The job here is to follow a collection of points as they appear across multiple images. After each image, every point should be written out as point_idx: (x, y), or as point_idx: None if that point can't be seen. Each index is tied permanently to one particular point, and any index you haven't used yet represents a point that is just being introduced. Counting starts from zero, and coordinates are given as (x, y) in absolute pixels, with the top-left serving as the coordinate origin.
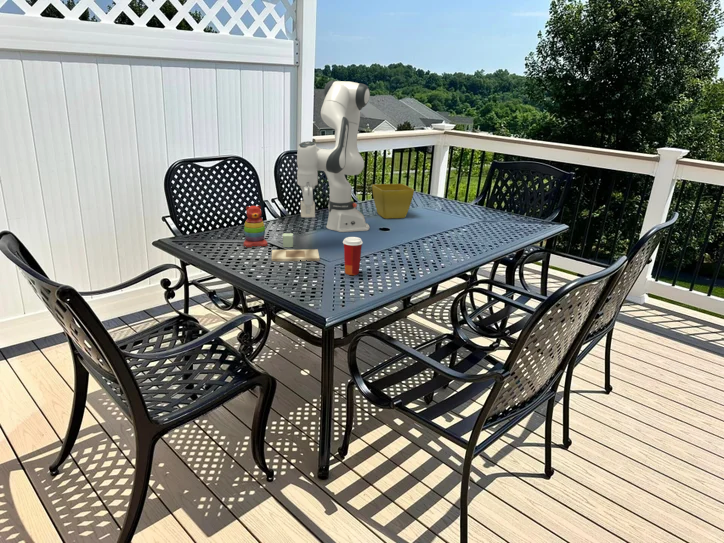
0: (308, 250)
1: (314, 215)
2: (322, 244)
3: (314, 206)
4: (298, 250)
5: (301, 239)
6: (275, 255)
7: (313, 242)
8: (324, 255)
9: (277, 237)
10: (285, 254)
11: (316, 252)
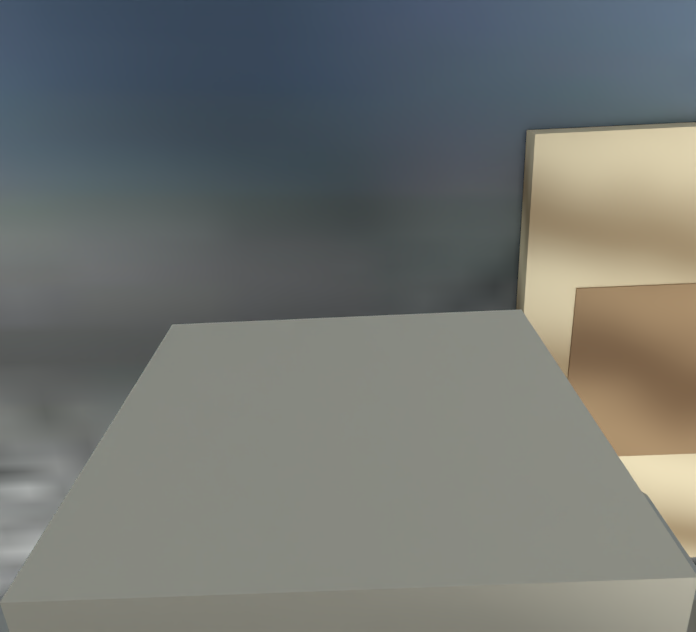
0: (566, 243)
1: (533, 338)
2: (226, 62)
3: (635, 503)
4: (553, 346)
5: (59, 312)
6: (673, 531)
7: (155, 177)
8: (668, 47)
9: (36, 528)
10: (663, 457)
11: (654, 151)
